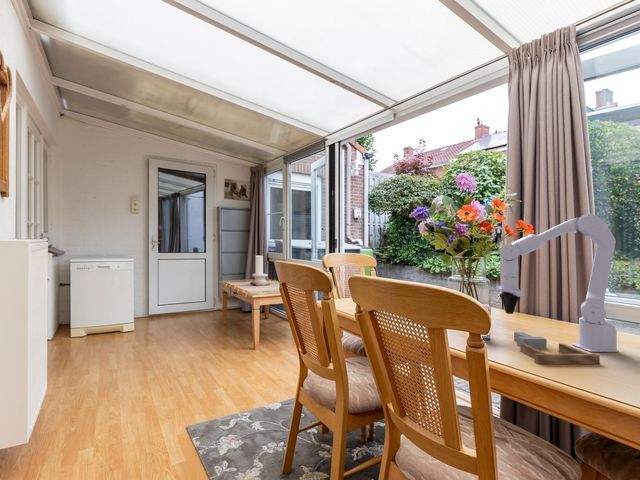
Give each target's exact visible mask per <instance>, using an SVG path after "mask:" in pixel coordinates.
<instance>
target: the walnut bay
mask: <svg viewBox="0 0 640 480" xmlns="http://www.w3.org/2000/svg"><path fill="white" fill-rule="evenodd" d="M519 347H520V349H519V350H520V352H521V353H523V354H525V355H527V356H529V357H530V358H533V359H534V363H535V364H537V365H538V364H539V365H600V364H601V360H600V359H601V358H600V357H601V356H600V354H597V353H588V352H586V351H583V350H581V349H578V348H576V347H573V346H570V345H568V344H566V343H558V352H559V353H546V352H544V351H542V350H540V349H539V348H534V347H531V346H529V345H527V344H525V343H520V346H519Z"/></svg>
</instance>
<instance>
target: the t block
mask: <svg viewBox="0 0 640 480" xmlns="http://www.w3.org/2000/svg"><path fill="white" fill-rule="evenodd" d="M513 341H515V342H517V343H516V344H517V346H518V347H520V343H525V344H527V345H529V346H531V347H534V348H536V349H548V347H547V346H548V345H547V344H548V341H547V338H545V337H542V336H532V335H530V334H528V333H526V332H524V331H514V332H513Z"/></svg>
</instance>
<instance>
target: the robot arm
mask: <svg viewBox="0 0 640 480" xmlns="http://www.w3.org/2000/svg"><path fill="white" fill-rule="evenodd" d="M578 231H579V232H580V233H581V234H584V235H585V236H588V237H589V239H591V240H592V241H593V242H594V243H595V244H596V245H595V247H596V248H595V252H594V253H595V254H594V257H593V262H592V268H591V272H590V277H589V278H590V279H589V282H588V288H587V293H586V296H585V300H584V301H583V302H581V304H580V315H581V317H579V318H578V342H577V343H576V342H575V343H571V344H572V346H575V347H577V348H579V349H582V350H585V351H587V352H591V353H619V352H620V351H619V350H618V349H617V348H618V347H617V345H618V343H617V341H618V340H617V339H618V338H617V337H618V334H617V333H618V332H617V329H616V327H615V325H614V324H613V323H611V322H609V321H607V320H605V318H606V317H607V315H606V313H607V312H606V310H605V307H604V306H605V302H606V301H605V299H606V297H605V296H606V292H607V287H608V282H609V277H610V272H611V267H612V262H613V258H614V257H613V256H614V253H615V247H616V238H615V237H614V235H613V233H612V231H611V229H610V228H609V227H608V225H607V223H606V221H605V220H603V219H602V218H601V217H600V216H598V215H597V214H594V213H587V214H584V215H581V216H580V217H575V218H572V219H569V220H566V221H564V222H562V223H559V224H558V225H555V226H554V227H551V228H549V229H547V230H545V231H543V232H541V233H539V234H533V233H530V234H528V233H526V234H523V237H521V238H519V239H517V240H512V241H511V242H510V244H509V243H508V244H505V245H504V246H502V247H501V248H500V251H499V254H500V256H501V260H500V261H501V264H500V285H496V292H501V293H498V294H499V295H498V296H499V297H500V299H501V302H502V304H503V307H504V312H505V314H507V315H508V314H509V315H513V314H514V311H515V308H516V305H517V303H518V301H519V300H520V299H521V298H524V297H525V291H523V290H521V289H520V288H519V278H520V277H519V257H520V256H524V255H527V254H529V253H532V252H534V251H536V250H539V249H541V247H542V245H543V243H545V242H547V241H550V240H552V239H555V238H557V237H559V236H561V235H563V234H564V235H565V234H567V233H569V234H571V233H572V234H573V233H576V234H577V232H578Z"/></svg>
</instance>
